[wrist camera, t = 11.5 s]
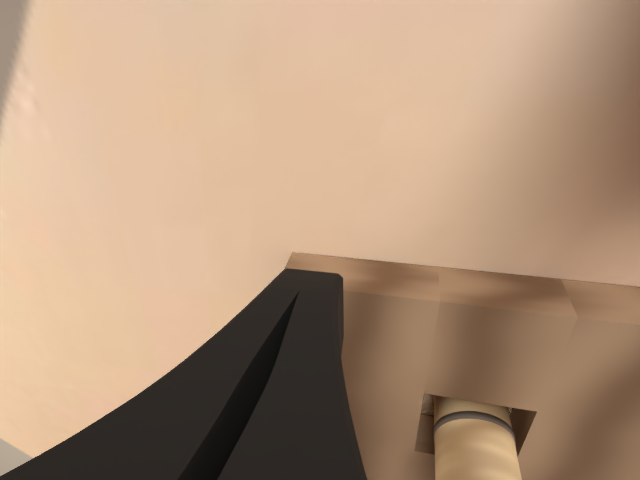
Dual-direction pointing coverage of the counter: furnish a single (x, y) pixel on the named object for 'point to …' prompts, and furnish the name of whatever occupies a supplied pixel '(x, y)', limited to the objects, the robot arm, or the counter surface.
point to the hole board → (490, 364)
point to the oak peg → (473, 441)
